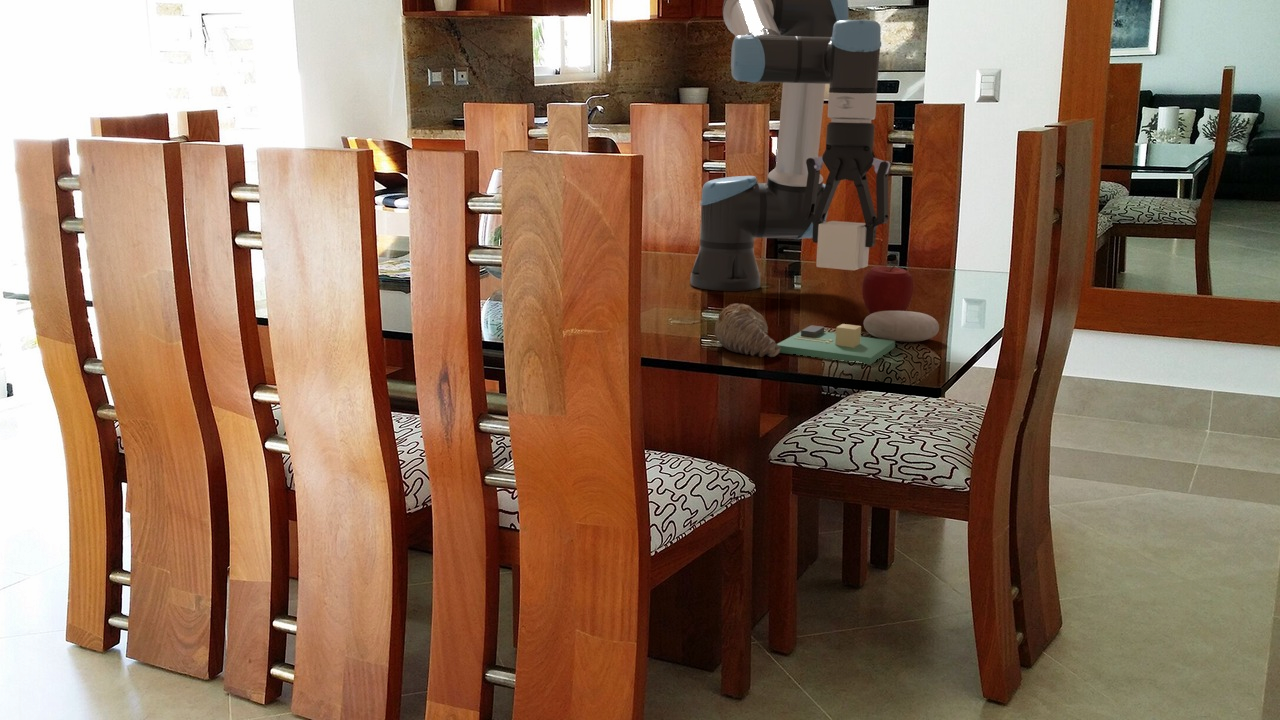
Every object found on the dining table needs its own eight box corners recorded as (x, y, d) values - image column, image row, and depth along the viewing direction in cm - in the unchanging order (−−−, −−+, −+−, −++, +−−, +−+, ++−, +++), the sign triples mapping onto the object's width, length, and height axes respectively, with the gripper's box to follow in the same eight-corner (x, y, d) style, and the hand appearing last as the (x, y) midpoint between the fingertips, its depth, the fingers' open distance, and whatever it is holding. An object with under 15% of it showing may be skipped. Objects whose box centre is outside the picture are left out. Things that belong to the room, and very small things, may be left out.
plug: (816, 266, 181) (818, 223, 179) (830, 262, 186) (832, 220, 185) (854, 270, 178) (857, 226, 176) (867, 265, 183) (870, 223, 182)
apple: (881, 324, 204) (885, 271, 202) (849, 314, 213) (853, 263, 210) (921, 320, 209) (925, 268, 206) (888, 311, 217) (892, 260, 214)
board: (774, 352, 182) (776, 326, 181) (804, 336, 194) (805, 312, 193) (870, 365, 174) (872, 339, 173) (894, 347, 186) (896, 323, 185)
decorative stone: (860, 342, 190) (862, 314, 189) (865, 332, 199) (866, 304, 197) (936, 349, 187) (939, 320, 186) (938, 338, 195) (941, 310, 194)
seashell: (735, 360, 192) (714, 307, 191) (789, 340, 189) (768, 286, 188) (723, 377, 179) (699, 320, 178) (781, 356, 176) (757, 298, 175)
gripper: (785, 119, 178) (778, 262, 183) (904, 123, 169) (893, 273, 174) (801, 119, 184) (794, 257, 189) (917, 122, 175) (906, 267, 180)
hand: (841, 264), depth 182 cm, fingers closed on plug, 6 cm apart
